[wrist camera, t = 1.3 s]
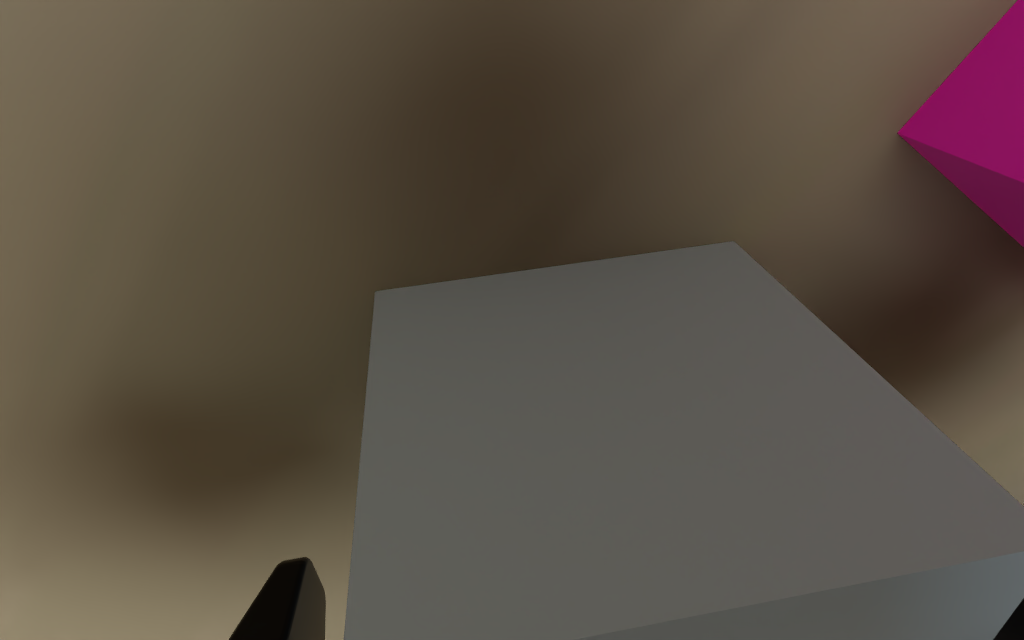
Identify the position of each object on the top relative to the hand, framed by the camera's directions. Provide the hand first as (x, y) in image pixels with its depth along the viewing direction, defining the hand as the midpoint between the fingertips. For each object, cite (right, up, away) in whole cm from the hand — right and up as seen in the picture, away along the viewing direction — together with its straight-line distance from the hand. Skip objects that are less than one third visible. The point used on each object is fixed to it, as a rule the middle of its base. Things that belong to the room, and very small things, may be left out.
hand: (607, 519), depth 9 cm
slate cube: (0, +2, +2) cm, 3 cm away
